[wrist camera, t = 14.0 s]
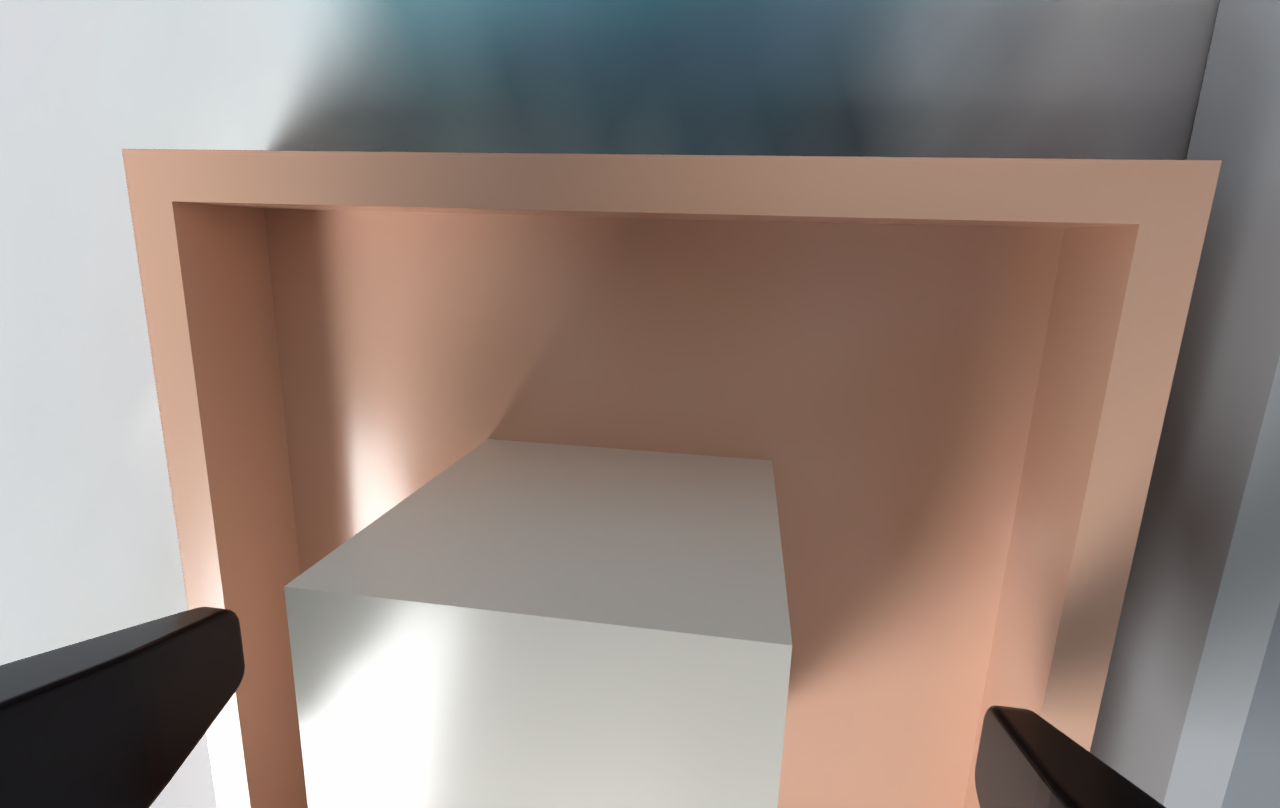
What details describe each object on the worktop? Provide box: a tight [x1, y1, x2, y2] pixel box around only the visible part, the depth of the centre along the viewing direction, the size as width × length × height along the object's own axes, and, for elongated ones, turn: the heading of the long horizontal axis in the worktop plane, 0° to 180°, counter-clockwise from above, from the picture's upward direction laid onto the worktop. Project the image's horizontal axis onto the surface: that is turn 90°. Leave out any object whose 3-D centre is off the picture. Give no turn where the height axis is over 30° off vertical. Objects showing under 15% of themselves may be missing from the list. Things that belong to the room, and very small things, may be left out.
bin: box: [122, 149, 1222, 808], centre depth 10 cm, size 12×12×2 cm
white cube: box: [284, 439, 792, 808], centre depth 8 cm, size 4×4×4 cm
